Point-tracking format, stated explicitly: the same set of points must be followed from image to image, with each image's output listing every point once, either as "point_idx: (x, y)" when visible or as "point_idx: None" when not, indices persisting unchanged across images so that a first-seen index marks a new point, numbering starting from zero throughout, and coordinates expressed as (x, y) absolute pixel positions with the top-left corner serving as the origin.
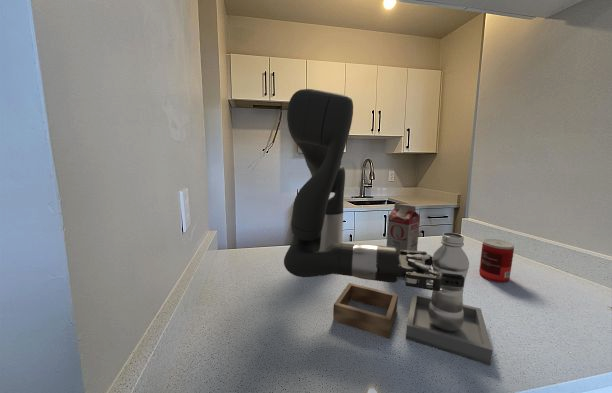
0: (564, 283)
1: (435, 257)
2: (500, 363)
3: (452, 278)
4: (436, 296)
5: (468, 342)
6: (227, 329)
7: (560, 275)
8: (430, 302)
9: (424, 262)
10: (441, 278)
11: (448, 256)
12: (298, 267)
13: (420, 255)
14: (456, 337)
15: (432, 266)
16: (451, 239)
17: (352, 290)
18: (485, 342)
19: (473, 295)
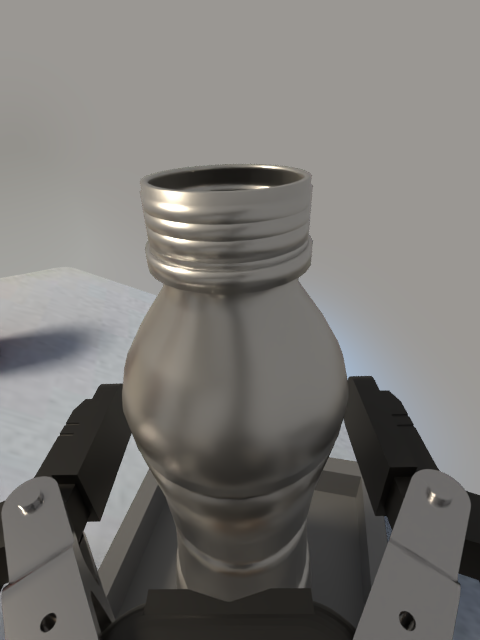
0: (39, 289)
1: (275, 443)
2: None
3: (410, 427)
4: (280, 579)
5: (380, 521)
6: None
7: (10, 283)
8: None
9: (91, 576)
10: (468, 492)
11: (329, 346)
12: None
13: (66, 600)
14: (373, 557)
15: (100, 517)
16: (308, 200)
17: None
18: (347, 471)
19: (38, 433)
